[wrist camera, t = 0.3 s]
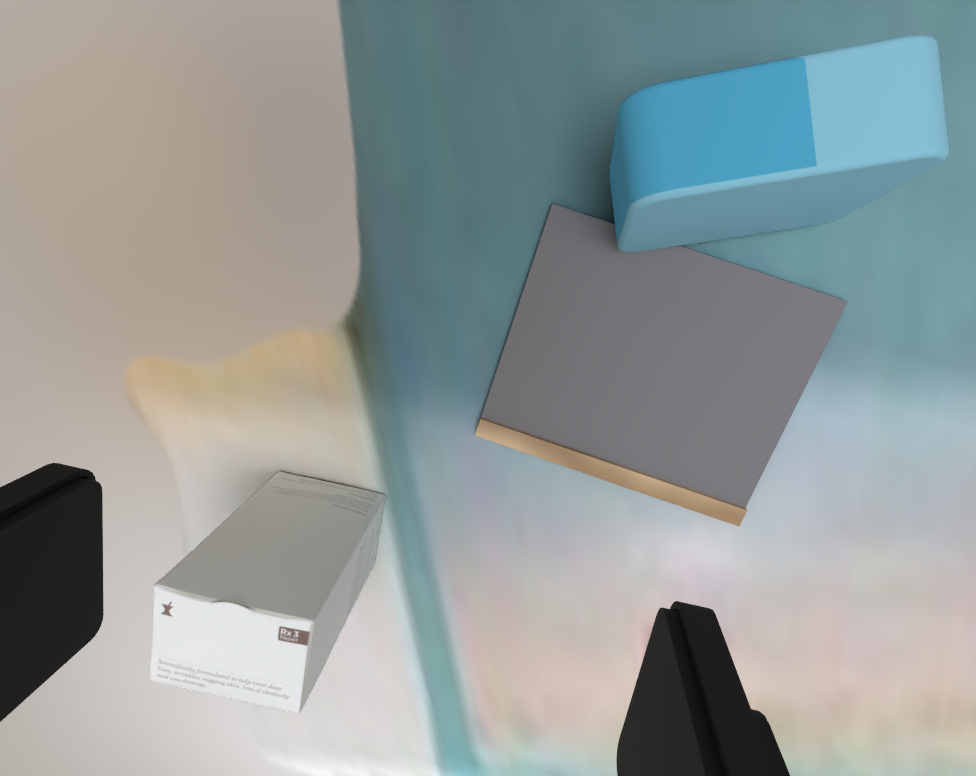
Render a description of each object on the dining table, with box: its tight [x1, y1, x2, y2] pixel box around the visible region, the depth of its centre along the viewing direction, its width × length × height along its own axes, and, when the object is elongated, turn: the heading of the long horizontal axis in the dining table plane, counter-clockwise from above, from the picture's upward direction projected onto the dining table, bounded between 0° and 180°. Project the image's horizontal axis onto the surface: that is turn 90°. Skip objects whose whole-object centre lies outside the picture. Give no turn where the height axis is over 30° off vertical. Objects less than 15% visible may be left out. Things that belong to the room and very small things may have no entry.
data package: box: [609, 35, 949, 252], centre depth 29 cm, size 12×4×12 cm, turn 99°
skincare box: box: [150, 471, 385, 714], centre depth 37 cm, size 8×6×15 cm
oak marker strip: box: [475, 417, 747, 526], centre depth 40 cm, size 1×18×1 cm, turn 72°
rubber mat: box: [481, 203, 848, 507], centre depth 38 cm, size 14×18×1 cm
